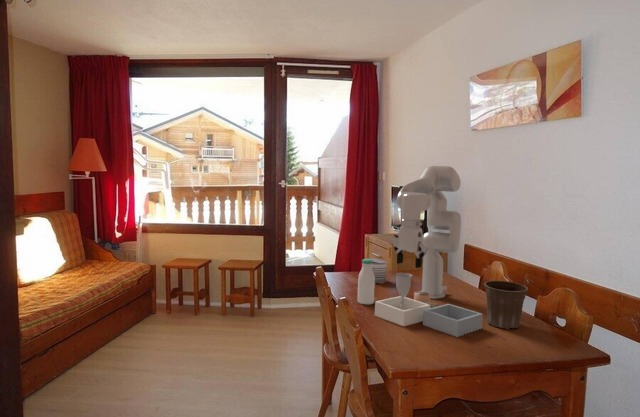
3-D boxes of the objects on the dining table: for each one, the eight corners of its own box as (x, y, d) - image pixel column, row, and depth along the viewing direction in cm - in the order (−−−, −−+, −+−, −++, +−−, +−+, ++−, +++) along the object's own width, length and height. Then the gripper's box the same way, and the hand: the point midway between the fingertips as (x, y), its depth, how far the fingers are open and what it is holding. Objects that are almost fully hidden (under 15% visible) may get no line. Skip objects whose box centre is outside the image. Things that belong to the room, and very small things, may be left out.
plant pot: (526, 334, 172) (529, 292, 171) (481, 328, 178) (484, 287, 176) (523, 321, 188) (526, 283, 186) (482, 316, 193) (484, 279, 192)
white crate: (400, 309, 200) (401, 295, 199) (429, 319, 187) (430, 304, 186) (374, 315, 190) (375, 301, 189) (403, 326, 177) (404, 311, 177)
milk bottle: (373, 305, 204) (375, 261, 202) (356, 304, 206) (357, 260, 204) (374, 300, 212) (376, 258, 210) (358, 299, 213) (359, 257, 211)
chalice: (391, 314, 192) (393, 272, 190) (407, 314, 192) (409, 272, 191) (396, 320, 184) (398, 276, 183) (412, 320, 185) (414, 276, 184)
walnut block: (426, 313, 195) (426, 301, 195) (437, 315, 193) (438, 303, 192) (422, 316, 191) (422, 304, 191) (434, 318, 188) (434, 306, 188)
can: (365, 278, 256) (366, 257, 255) (385, 279, 255) (386, 258, 254) (364, 282, 245) (365, 261, 244) (386, 284, 244) (386, 262, 243)
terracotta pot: (420, 305, 205) (421, 290, 205) (432, 309, 200) (433, 294, 199) (410, 308, 201) (410, 292, 201) (422, 312, 196) (423, 296, 195)
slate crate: (447, 317, 190) (448, 303, 189) (481, 328, 177) (482, 313, 176) (422, 324, 180) (423, 310, 179) (457, 337, 167) (457, 321, 167)
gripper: (433, 225, 180) (431, 268, 181) (400, 221, 193) (398, 260, 195) (421, 226, 175) (419, 270, 177) (388, 222, 188) (386, 262, 190)
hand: (408, 265), depth 186 cm, fingers open, 9 cm apart
